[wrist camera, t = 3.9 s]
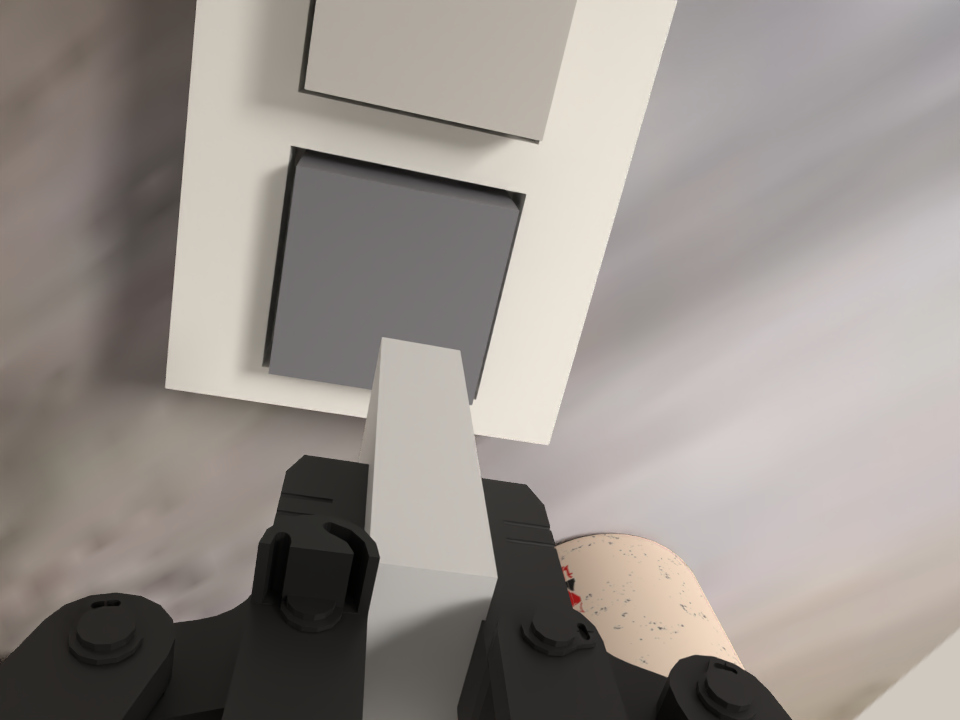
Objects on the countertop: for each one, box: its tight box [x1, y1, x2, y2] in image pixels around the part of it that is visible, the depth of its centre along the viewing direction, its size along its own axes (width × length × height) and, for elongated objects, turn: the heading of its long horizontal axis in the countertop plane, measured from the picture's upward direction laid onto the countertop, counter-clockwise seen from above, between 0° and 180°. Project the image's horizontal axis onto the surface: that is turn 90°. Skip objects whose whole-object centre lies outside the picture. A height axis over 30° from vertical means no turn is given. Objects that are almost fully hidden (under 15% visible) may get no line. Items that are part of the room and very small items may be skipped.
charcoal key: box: [268, 149, 519, 405], centre depth 24 cm, size 6×6×3 cm
